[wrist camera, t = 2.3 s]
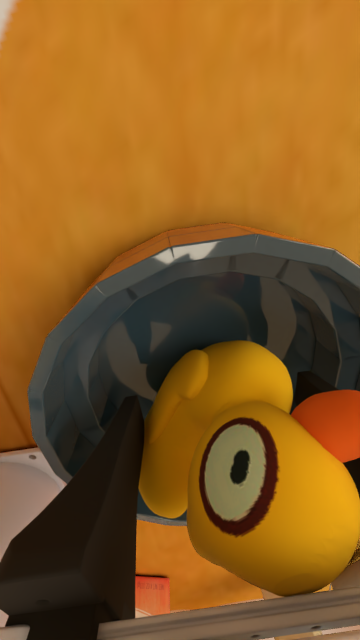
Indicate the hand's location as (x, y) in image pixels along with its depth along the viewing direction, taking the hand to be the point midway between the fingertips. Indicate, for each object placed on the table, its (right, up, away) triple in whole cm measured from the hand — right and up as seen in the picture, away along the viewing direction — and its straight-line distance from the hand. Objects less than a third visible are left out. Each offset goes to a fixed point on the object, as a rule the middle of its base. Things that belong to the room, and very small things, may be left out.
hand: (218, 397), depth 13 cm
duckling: (0, +1, +3) cm, 3 cm away
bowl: (0, +1, +3) cm, 3 cm away
